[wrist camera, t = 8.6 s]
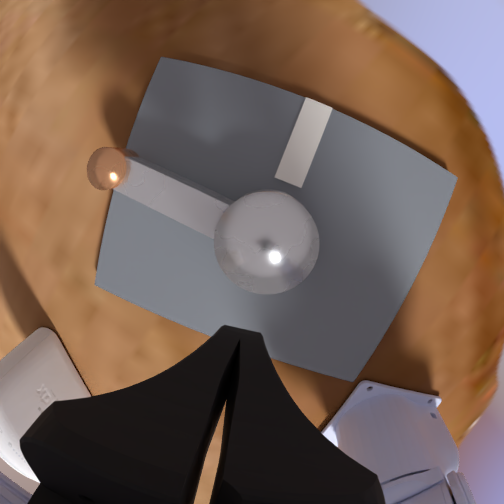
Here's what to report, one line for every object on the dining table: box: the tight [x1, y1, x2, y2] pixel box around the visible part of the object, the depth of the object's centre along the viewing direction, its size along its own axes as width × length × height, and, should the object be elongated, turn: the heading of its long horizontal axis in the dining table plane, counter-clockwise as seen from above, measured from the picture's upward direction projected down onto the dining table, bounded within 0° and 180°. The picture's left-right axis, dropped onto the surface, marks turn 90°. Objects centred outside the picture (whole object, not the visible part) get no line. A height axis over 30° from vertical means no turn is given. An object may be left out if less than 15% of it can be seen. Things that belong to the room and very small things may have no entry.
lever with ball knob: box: [87, 147, 319, 294], centre depth 15 cm, size 13×5×2 cm, turn 64°
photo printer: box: [0, 327, 91, 483], centre depth 18 cm, size 10×4×12 cm, turn 14°
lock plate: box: [95, 57, 457, 382], centre depth 17 cm, size 20×16×2 cm
